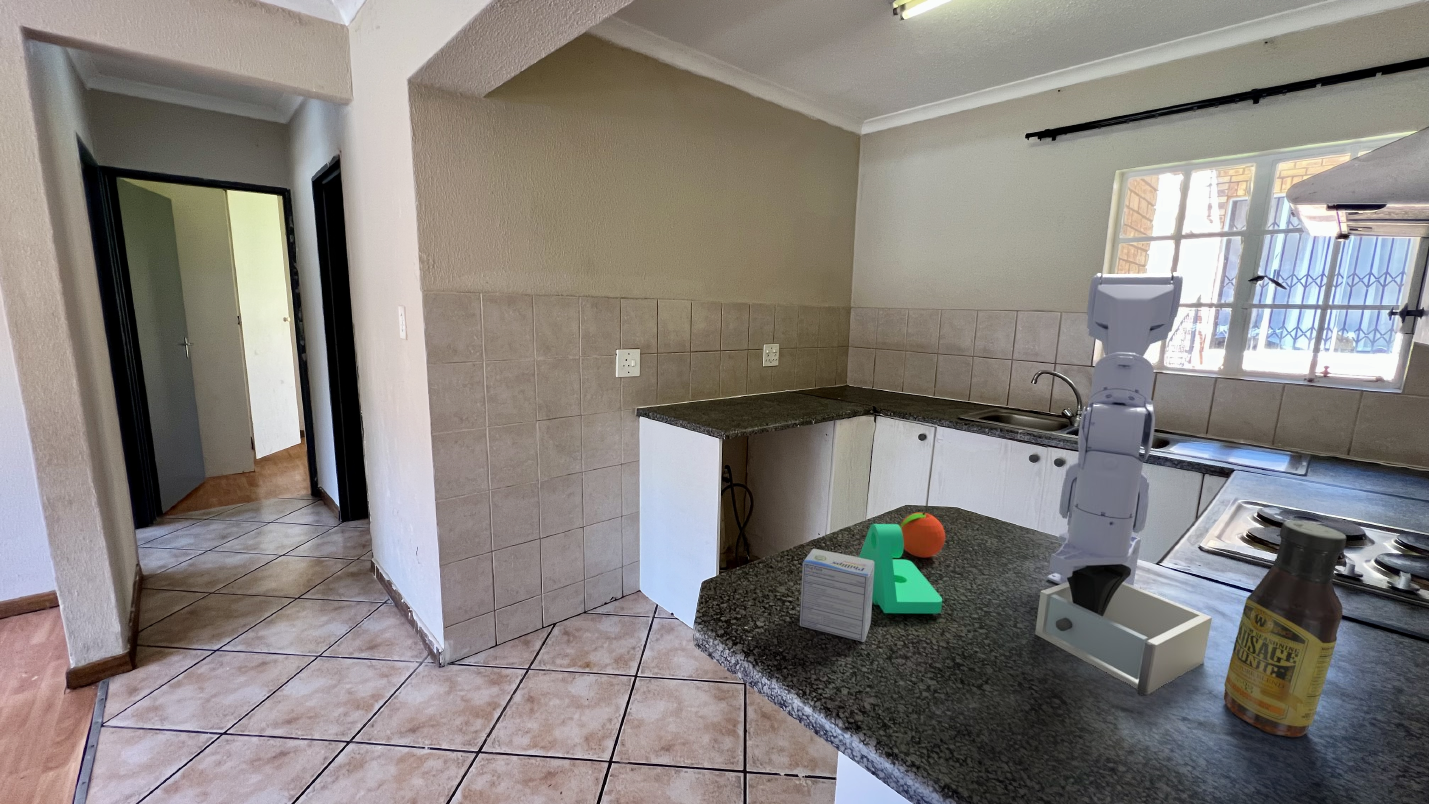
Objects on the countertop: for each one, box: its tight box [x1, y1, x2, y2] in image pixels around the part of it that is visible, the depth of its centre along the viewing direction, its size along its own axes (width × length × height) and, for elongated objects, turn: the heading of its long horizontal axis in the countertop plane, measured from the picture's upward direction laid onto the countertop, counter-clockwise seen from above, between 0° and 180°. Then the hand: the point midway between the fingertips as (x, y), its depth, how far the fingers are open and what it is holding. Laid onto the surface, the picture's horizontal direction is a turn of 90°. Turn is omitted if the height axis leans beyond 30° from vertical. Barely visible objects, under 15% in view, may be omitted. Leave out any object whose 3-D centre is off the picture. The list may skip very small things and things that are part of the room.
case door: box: [1046, 595, 1148, 680], centre depth 62 cm, size 2×10×5 cm, turn 28°
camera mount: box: [858, 523, 943, 614], centre depth 76 cm, size 12×8×10 cm, turn 2°
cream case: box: [1034, 582, 1213, 696], centre depth 65 cm, size 13×12×6 cm
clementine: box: [899, 511, 946, 558], centre depth 88 cm, size 8×7×7 cm
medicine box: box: [799, 548, 875, 643], centre depth 68 cm, size 8×4×9 cm, turn 65°
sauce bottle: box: [1223, 520, 1347, 738], centre depth 53 cm, size 6×6×20 cm
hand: (1086, 620), depth 65 cm, fingers closed
